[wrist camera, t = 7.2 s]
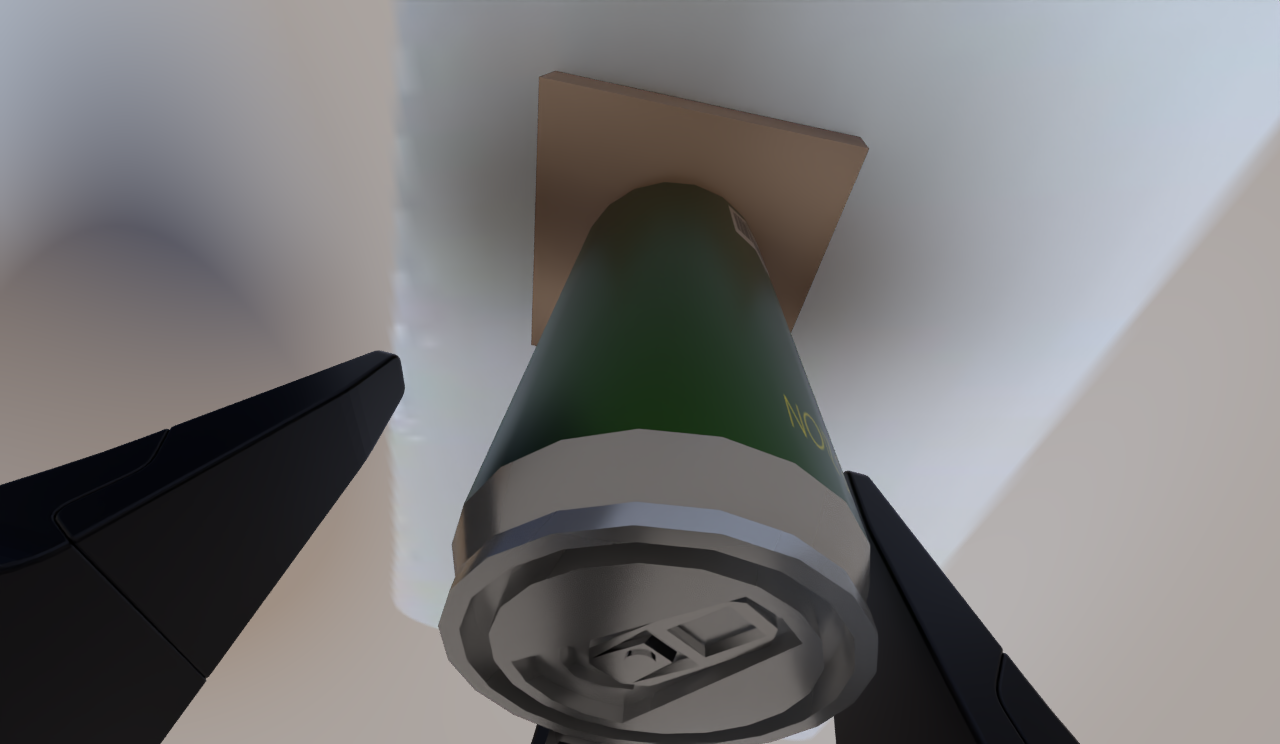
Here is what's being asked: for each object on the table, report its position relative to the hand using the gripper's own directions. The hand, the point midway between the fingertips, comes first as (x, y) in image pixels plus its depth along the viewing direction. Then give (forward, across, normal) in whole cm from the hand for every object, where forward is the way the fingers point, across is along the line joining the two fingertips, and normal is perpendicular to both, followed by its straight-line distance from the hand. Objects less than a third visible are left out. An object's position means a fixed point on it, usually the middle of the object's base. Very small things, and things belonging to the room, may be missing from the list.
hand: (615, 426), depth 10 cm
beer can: (+8, 0, 0) cm, 8 cm away
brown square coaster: (+10, 0, 0) cm, 10 cm away
